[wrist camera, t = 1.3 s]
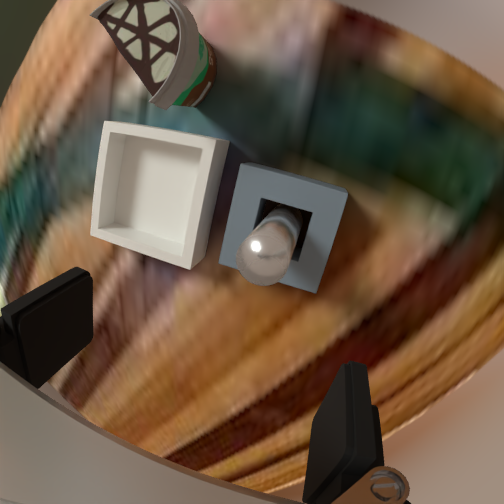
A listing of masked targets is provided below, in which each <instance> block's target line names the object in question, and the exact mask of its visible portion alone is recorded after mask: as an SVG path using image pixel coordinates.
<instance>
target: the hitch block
mask: <svg viewBox="0 0 504 504" xmlns="http://www.w3.org/2000/svg"><path fill="white" fill-rule="evenodd" d="M347 196H348V193H347V191H346V189H345V188H342V187H339V186H335V185H332V184H329V183H325V182H322V181H319V180H315V179H312V178H308V177H305V176H301V175H298V174H294V173H291V172H287V171H283V170H280V169H276V168H272V167H268V166H264V165H261V164H257V163H253V162H249V163H241V164H240V169H239V173H238V177H237V181H236V186H235V190H234V195H233V199H232V203H231V208H230V212H229V217H228V221H227V226H226V230H225V235H224V239H223V244H222V249H221V253H220V258H219V264H222V265H225V266H228V267H232V268H235V269H238V267H237V264H236V253H237V250H238V248H239V246H240V245H241V243H242V242H243V241H244V240H245V239H246V238H247V237H248V236H249V235H250V234H251V233H252V231H253V230H254V229H255V228H256V227H257V226H258V225H259V224H260V223H261V222H262V218H263V214H264V210H265V206H266V202H267V199H268V200H272V201H275V202H279V203H282V204H286V205H289V206H293V207H296V208H299V209H303V210H306V211H310V212H312V215H311V219H310V222H309V226H308V229H307V233H306V236H305V239H304V243H303V246H302V248H298V247H295V248H294V251H293V254H292V257H291V260H290V263H289V266H288V269H287V272H286V274H285V275H284V277H283V278H282V279H281V280H280V281H278V282H280V283H283V284H286V285H290V286H293V287H296V288H300V289H303V290H306V291H309V292H313V293H316V292H317V289H318V286H319V283H320V280H321V278H322V275H323V272H324V269H325V266H326V263H327V260H328V257H329V254H330V251H331V248H332V245H333V241H334V238H335V235H336V232H337V229H338V226H339V223H340V219H341V216H342V213H343V209H344V206H345V203H346V199H347Z"/></svg>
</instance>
